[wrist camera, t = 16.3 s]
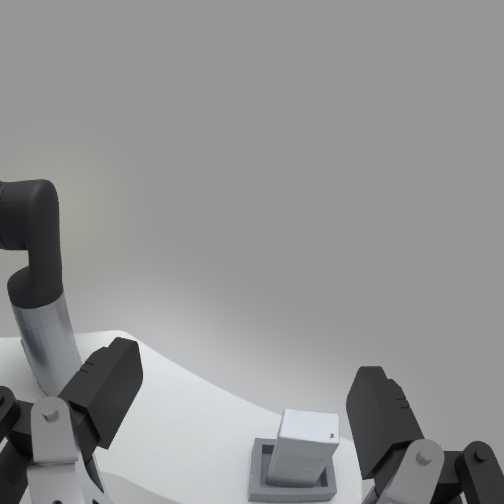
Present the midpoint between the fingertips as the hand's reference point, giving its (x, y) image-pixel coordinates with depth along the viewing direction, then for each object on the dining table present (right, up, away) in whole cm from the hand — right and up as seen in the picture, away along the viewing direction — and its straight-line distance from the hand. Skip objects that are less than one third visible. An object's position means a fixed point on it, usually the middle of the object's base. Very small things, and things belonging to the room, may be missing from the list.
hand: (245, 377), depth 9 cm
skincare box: (+5, -24, +17) cm, 30 cm away
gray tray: (+5, -24, +18) cm, 31 cm away
